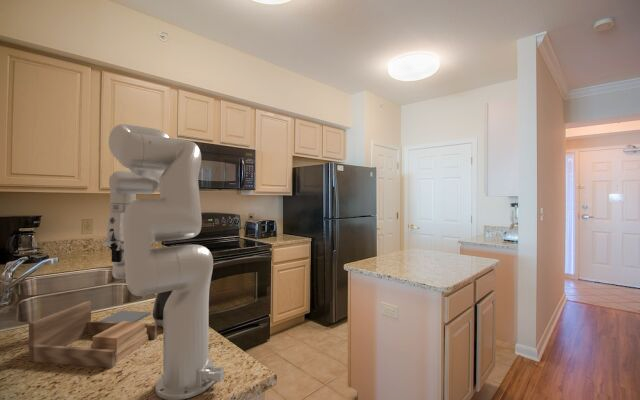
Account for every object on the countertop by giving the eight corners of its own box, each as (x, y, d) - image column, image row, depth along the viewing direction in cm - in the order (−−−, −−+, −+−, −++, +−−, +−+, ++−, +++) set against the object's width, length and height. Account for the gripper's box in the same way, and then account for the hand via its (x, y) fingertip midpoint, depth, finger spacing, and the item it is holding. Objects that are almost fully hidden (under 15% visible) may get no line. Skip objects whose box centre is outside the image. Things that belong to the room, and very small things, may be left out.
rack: (156, 337, 93) (156, 304, 93) (112, 367, 76) (112, 327, 76) (86, 332, 96) (86, 301, 96) (28, 361, 80) (28, 322, 80)
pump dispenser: (165, 333, 96) (165, 285, 96) (146, 326, 101) (146, 280, 101) (193, 322, 105) (193, 278, 105) (174, 316, 110) (174, 274, 110)
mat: (150, 313, 113) (150, 312, 113) (125, 327, 101) (125, 325, 101) (121, 312, 114) (121, 310, 114) (93, 325, 102) (93, 323, 102)
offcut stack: (148, 341, 91) (148, 320, 91) (116, 362, 79) (116, 339, 79) (123, 339, 92) (123, 319, 92) (88, 360, 80) (88, 337, 80)
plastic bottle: (121, 281, 103) (121, 222, 103) (107, 279, 106) (107, 221, 105) (138, 276, 109) (138, 220, 109) (124, 275, 112) (124, 220, 112)
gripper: (113, 209, 98) (113, 265, 98) (149, 207, 115) (149, 256, 115) (92, 209, 99) (92, 265, 99) (131, 207, 116) (131, 255, 116)
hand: (123, 259), depth 107 cm, fingers closed on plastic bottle, 5 cm apart
